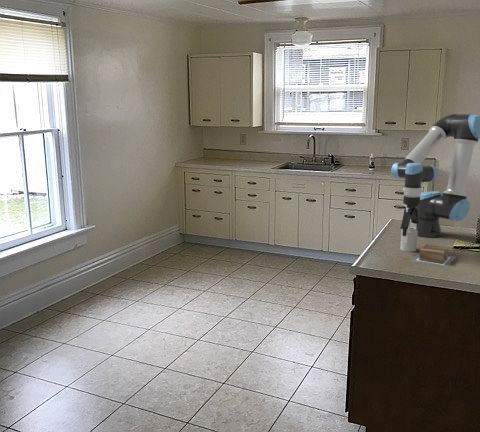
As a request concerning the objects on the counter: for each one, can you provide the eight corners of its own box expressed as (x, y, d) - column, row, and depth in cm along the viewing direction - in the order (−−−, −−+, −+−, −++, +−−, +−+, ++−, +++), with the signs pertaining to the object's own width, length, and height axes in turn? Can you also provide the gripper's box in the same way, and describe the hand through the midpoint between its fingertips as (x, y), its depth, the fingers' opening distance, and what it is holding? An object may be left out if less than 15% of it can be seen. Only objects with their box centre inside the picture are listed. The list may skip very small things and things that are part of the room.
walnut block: (425, 254, 246) (425, 244, 245) (447, 258, 240) (448, 247, 239) (419, 260, 238) (419, 249, 236) (442, 263, 232) (443, 253, 231)
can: (417, 253, 250) (418, 229, 247) (400, 253, 251) (402, 228, 248) (415, 249, 257) (417, 225, 254) (399, 248, 258) (400, 225, 256)
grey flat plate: (420, 253, 251) (420, 251, 251) (456, 258, 242) (456, 256, 242) (409, 263, 236) (409, 261, 236) (446, 269, 228) (447, 267, 227)
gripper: (411, 191, 260) (408, 232, 265) (395, 199, 240) (392, 243, 244) (427, 192, 256) (423, 234, 260) (412, 200, 236) (408, 246, 240)
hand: (408, 239), depth 252 cm, fingers open, 13 cm apart
